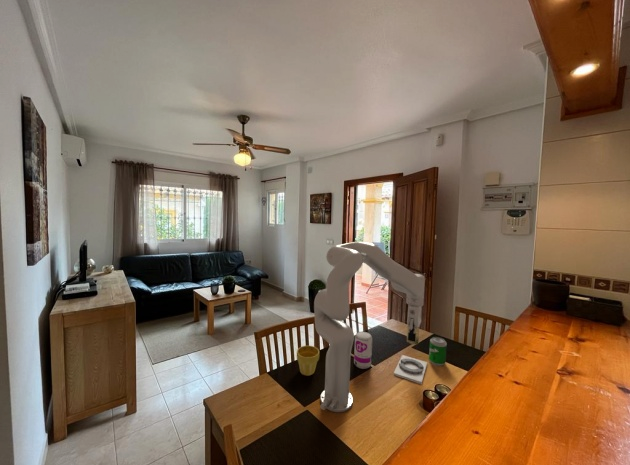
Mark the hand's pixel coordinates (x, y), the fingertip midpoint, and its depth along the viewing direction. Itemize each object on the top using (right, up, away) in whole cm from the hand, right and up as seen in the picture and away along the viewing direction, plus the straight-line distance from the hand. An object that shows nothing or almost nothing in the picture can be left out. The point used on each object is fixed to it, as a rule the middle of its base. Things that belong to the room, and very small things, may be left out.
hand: (412, 337), depth 124 cm
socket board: (0, -16, +1) cm, 16 cm away
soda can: (+15, -16, +7) cm, 23 cm away
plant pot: (-50, -15, -3) cm, 52 cm away
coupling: (0, -2, 0) cm, 2 cm away
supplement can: (-23, -15, +4) cm, 28 cm away
